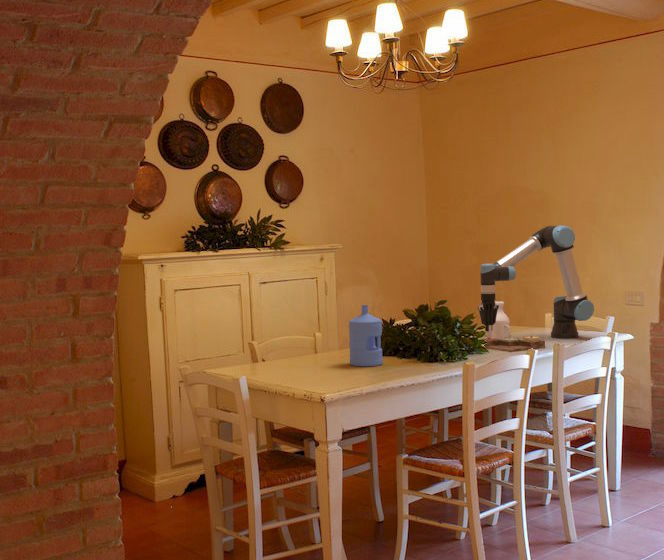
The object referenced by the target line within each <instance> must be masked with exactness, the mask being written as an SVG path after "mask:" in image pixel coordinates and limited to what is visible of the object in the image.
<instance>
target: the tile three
mask: <svg viewBox="0 0 664 560" xmlns="http://www.w3.org/2000/svg"><path fill="white" fill-rule="evenodd" d="M522 340H523V341H526V342H537V341H540V340H541V337H539V336H533V335H531V336H523V338H522Z"/></svg>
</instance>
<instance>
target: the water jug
mask: <svg viewBox="0 0 664 560" xmlns="http://www.w3.org/2000/svg"><path fill="white" fill-rule="evenodd" d="M382 324H383V322H382V319H380V318H378V317H376V316H374V315H372V314H370V313H369V305H368V304H363V305H361V313H360V314H359V315H357V316H356V317H354V318H352V319H350V320H349V321H348V330H349V331H348V332H349V333H348V335H349V339H348V340H349V343H348V345H349V364H350V366H354V367H360V368H361V367H362V368H364V367H366V368H368V367H370V368H371V367H377V366H381V365H383V361H384V358H383V348H382V345H381V343H382V341H381V336H382V334H383V333H382V330H383V325H382Z"/></svg>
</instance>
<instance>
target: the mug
mask: <svg viewBox="0 0 664 560" xmlns="http://www.w3.org/2000/svg"><path fill="white" fill-rule="evenodd" d="M506 328H508V330H509V331H508V335H506ZM511 329H512V328H511V327H510V326H508V325H506V321H496V323H495V324H494V325H492V338H495V339H498V340H502V339H507V338H510V336H511V335H512V330H511Z"/></svg>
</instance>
